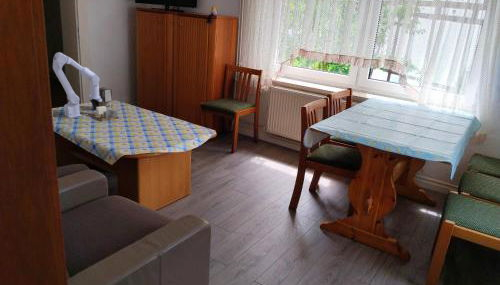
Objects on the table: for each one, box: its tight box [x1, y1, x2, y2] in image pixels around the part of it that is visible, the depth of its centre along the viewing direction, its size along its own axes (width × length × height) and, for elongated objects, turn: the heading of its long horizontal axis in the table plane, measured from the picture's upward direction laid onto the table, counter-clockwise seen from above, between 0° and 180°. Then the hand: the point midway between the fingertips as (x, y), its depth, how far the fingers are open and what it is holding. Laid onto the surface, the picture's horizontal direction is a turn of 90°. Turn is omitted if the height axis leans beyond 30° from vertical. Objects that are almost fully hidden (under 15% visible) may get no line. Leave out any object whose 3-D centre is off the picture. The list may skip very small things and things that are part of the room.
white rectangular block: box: [95, 106, 106, 115], centre depth 277 cm, size 9×3×5 cm, turn 141°
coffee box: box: [98, 86, 113, 111], centre depth 294 cm, size 9×6×16 cm
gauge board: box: [87, 109, 120, 122], centre depth 277 cm, size 13×18×6 cm
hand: (95, 109), depth 283 cm, fingers closed
